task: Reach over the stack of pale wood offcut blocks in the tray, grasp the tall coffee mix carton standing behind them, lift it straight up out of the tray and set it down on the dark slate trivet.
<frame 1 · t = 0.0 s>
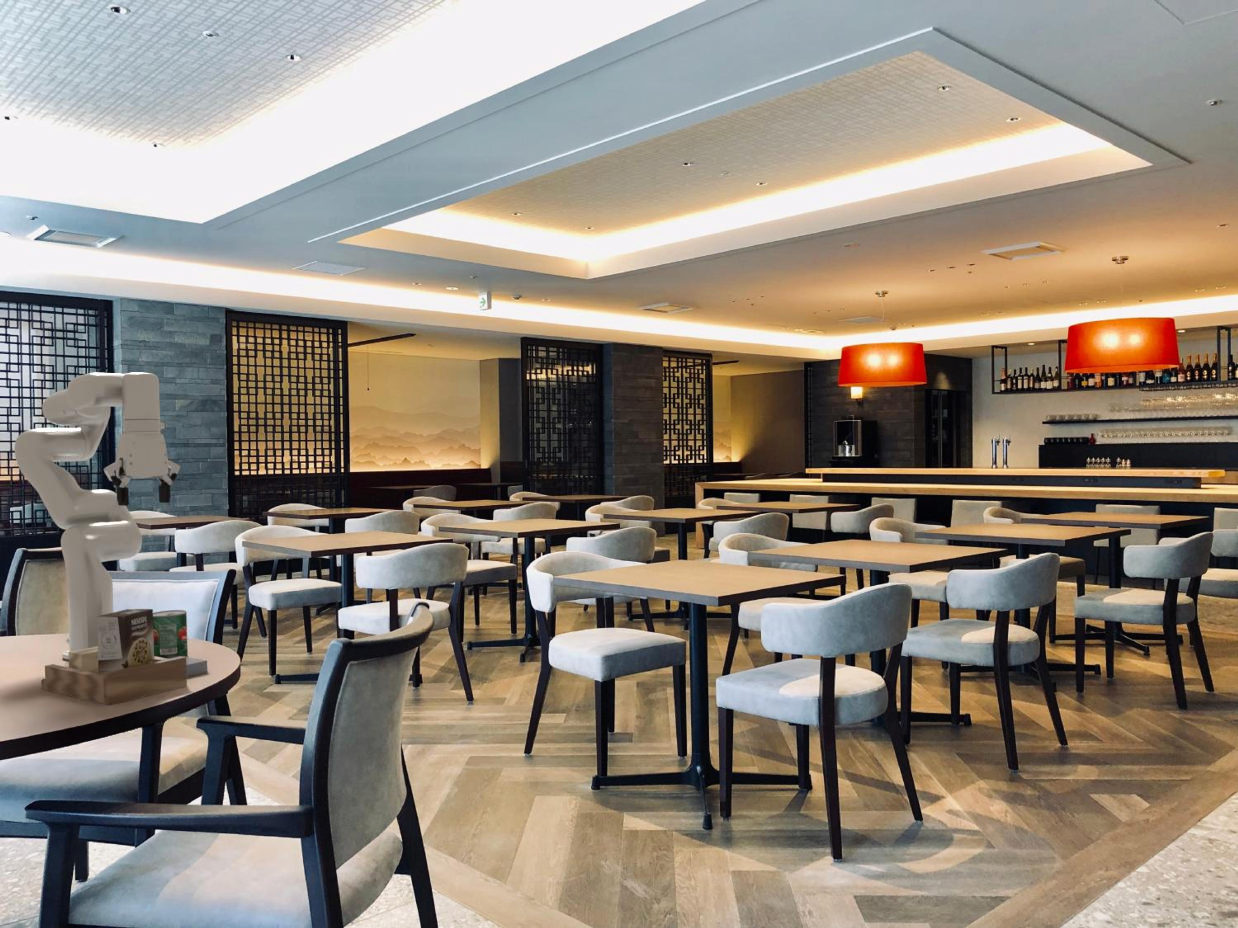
hand: (144, 503, 219), 37 cm above the table, tool pointing down, fingers open, 9 cm apart
offcut bottom: (95, 684, 204), resting in tray
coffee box: (127, 691, 198), resting in tray
canned tomato: (169, 660, 226), on the table
offcut top: (94, 665, 204), point 4 cm above the table
tray: (114, 687, 200), on the table
trivet: (177, 672, 212), on the table
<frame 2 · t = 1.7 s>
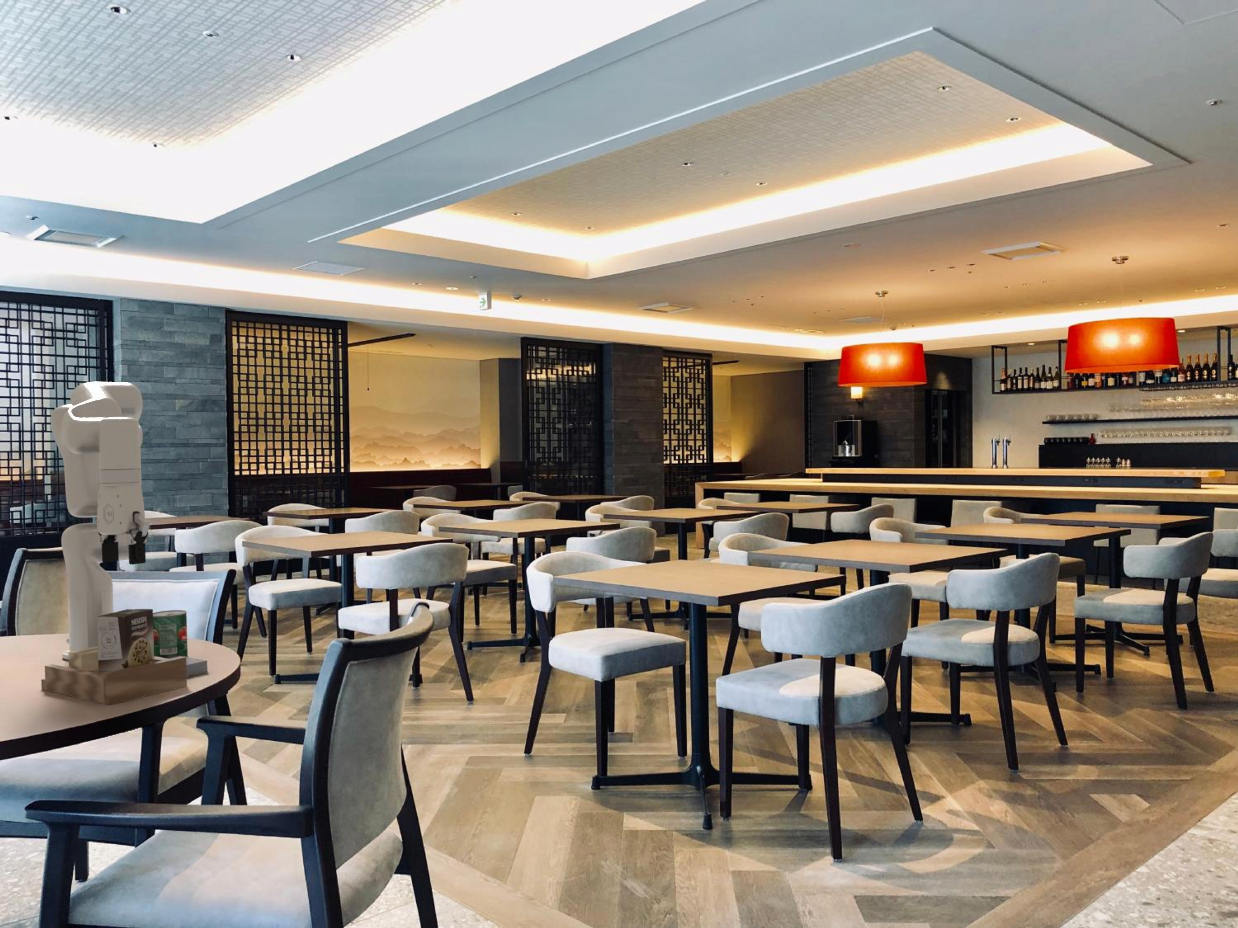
hand: (123, 562, 197), 26 cm above the table, tool pointing down, fingers open, 9 cm apart
offcut bottom: (96, 684, 204), resting in tray, touching offcut top
offcut top: (94, 666, 204), point 4 cm above the table, touching offcut bottom
everything else where it was.
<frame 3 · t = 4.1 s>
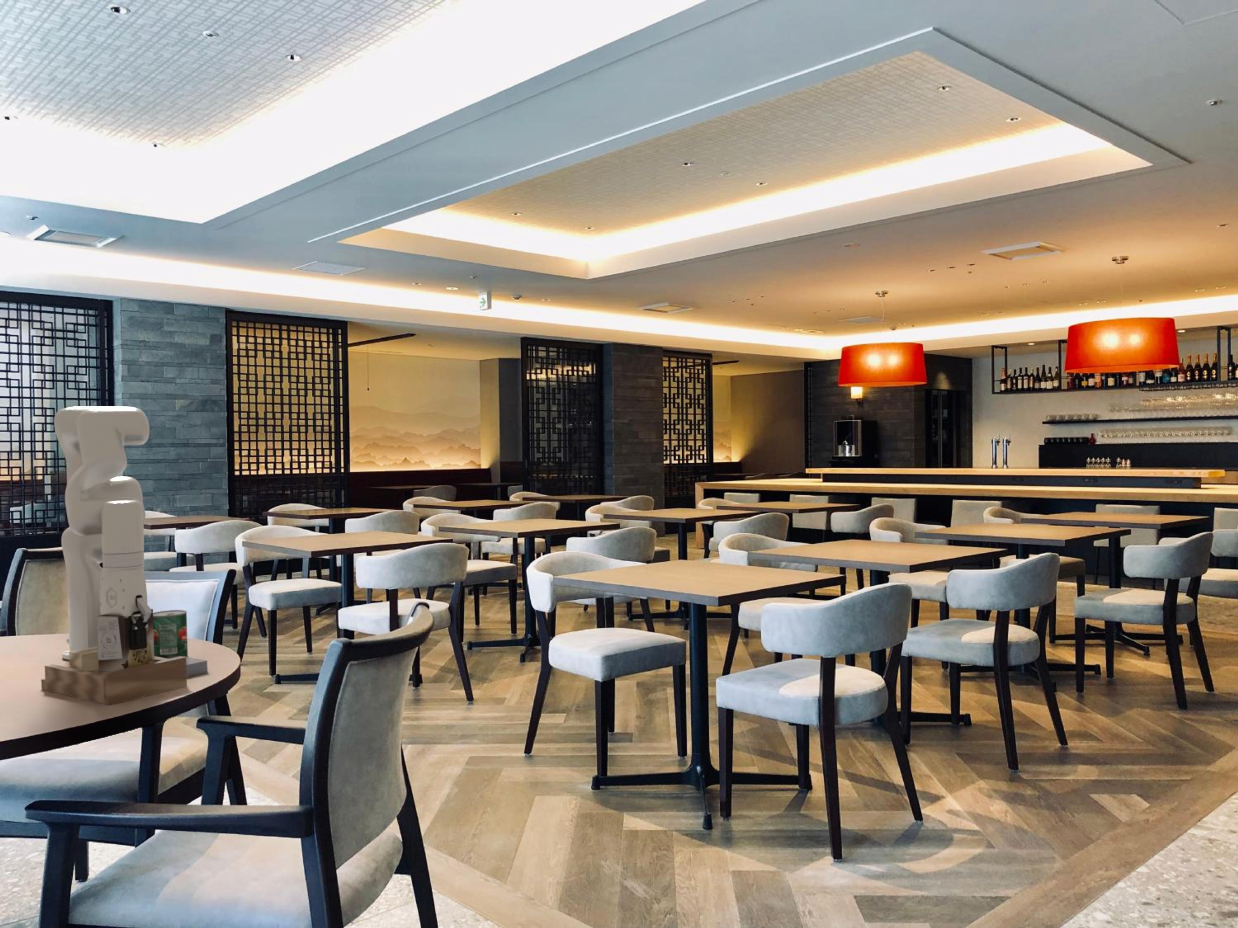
hand: (126, 646, 197), 9 cm above the table, tool pointing down, fingers closed on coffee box, 8 cm apart
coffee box: (127, 691, 198), resting in tray, touching gripper
everything else where it was.
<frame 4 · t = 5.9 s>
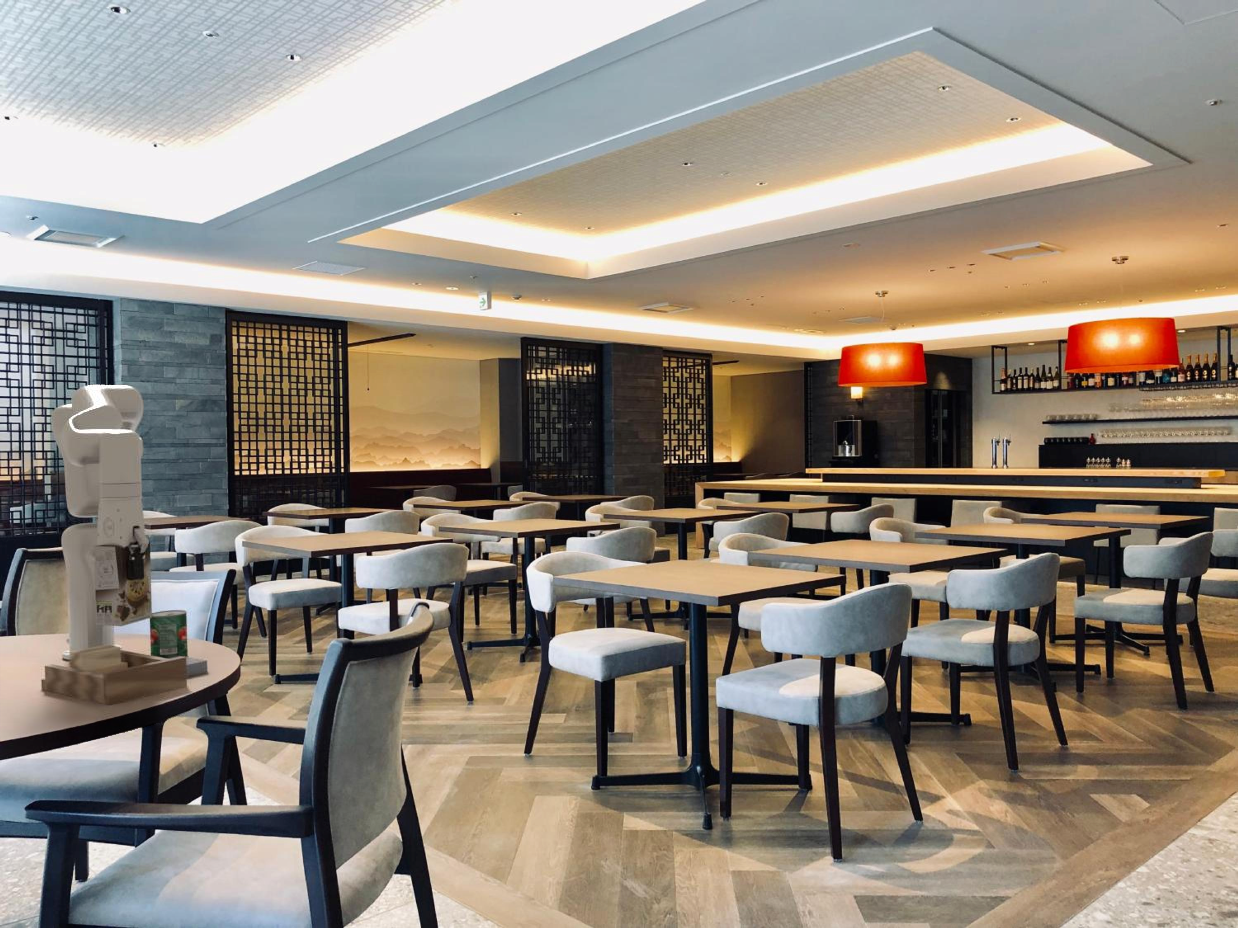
hand: (123, 577, 197), 23 cm above the table, tool pointing down, fingers closed on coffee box, 8 cm apart
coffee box: (124, 622, 198), point 14 cm above the table, touching gripper
everything else where it was.
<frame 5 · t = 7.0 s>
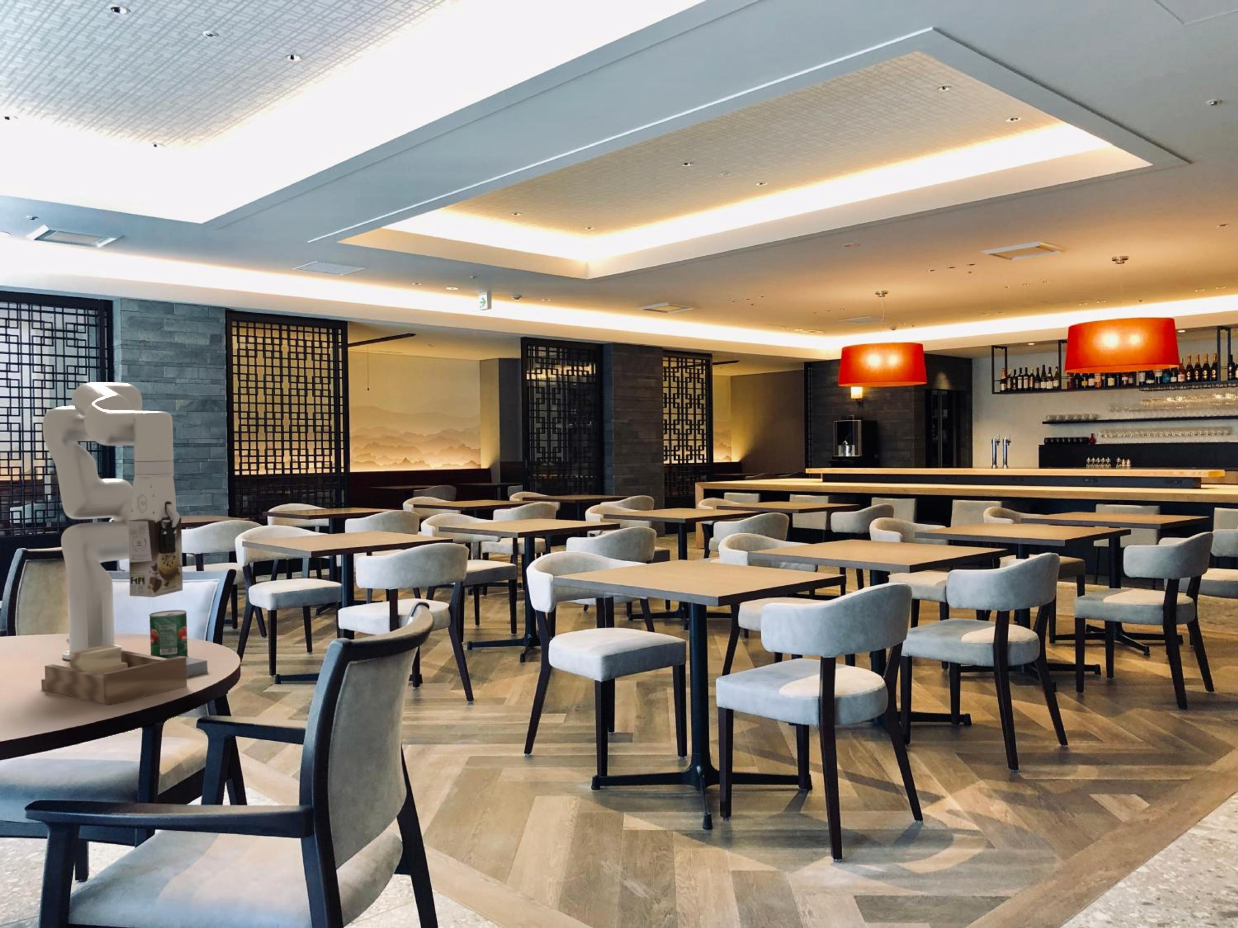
hand: (156, 551, 207), 27 cm above the table, tool pointing down, fingers closed on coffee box, 8 cm apart
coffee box: (157, 594, 207), point 18 cm above the table, touching gripper
everything else where it was.
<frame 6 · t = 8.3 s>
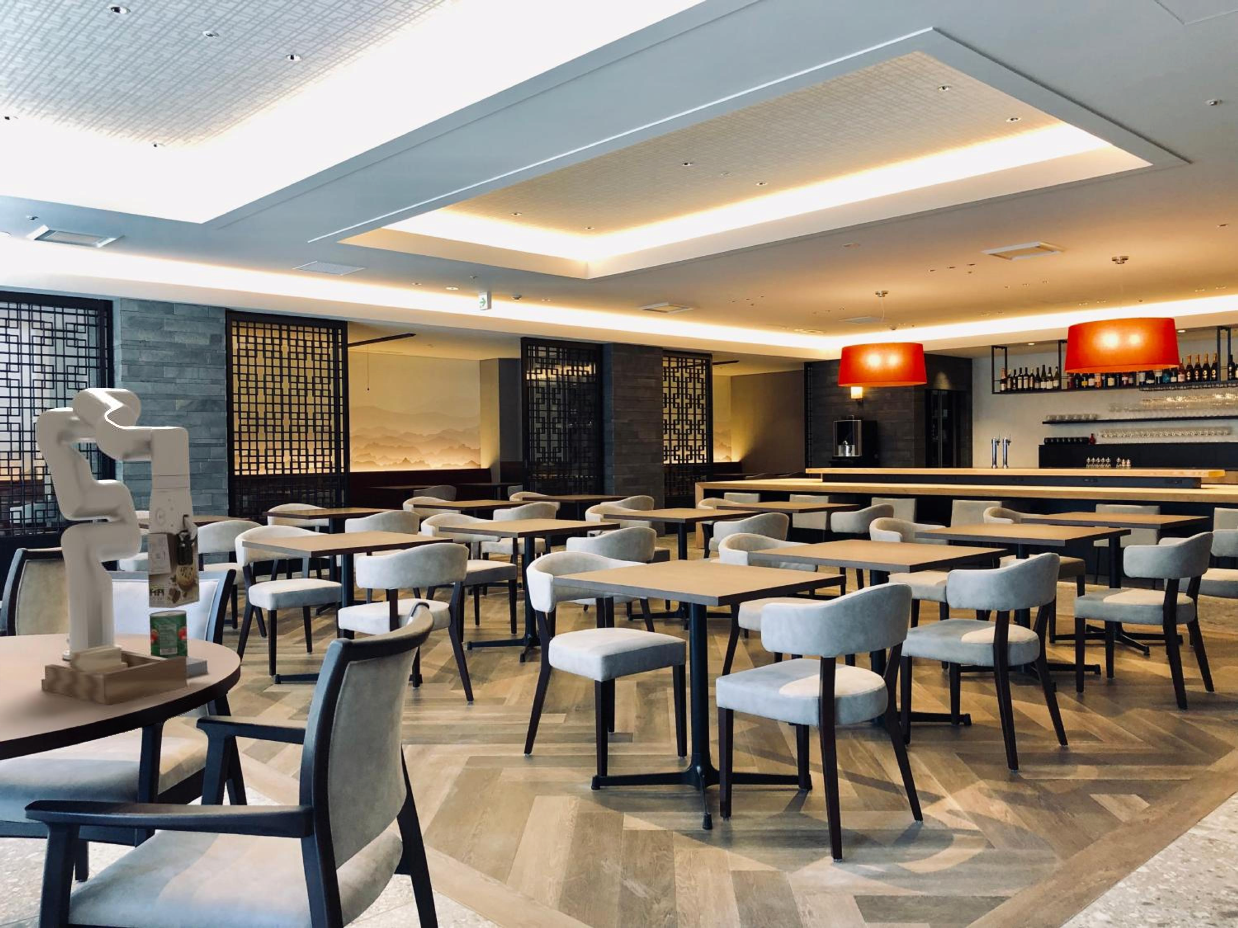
hand: (173, 563, 211), 24 cm above the table, tool pointing down, fingers closed on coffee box, 8 cm apart
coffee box: (175, 605, 212), point 15 cm above the table, touching gripper
everything else where it was.
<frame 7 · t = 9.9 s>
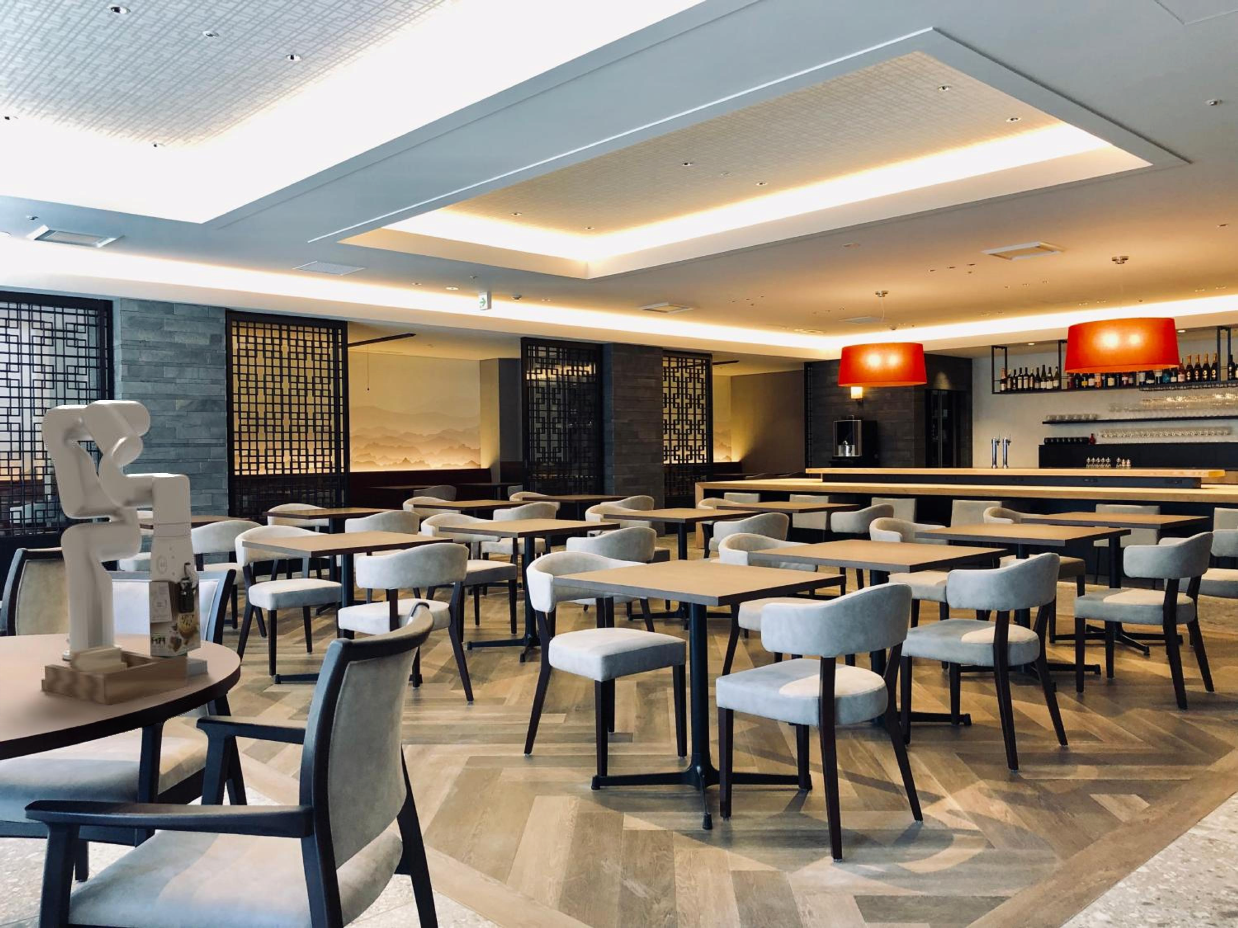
hand: (175, 610, 212), 14 cm above the table, tool pointing down, fingers closed on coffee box, 8 cm apart
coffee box: (176, 652, 212), point 4 cm above the table, touching gripper
everything else where it was.
when the fingers open (13 cm above the table, at t = 11.2 s): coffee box drops 1 cm, resting on trivet.
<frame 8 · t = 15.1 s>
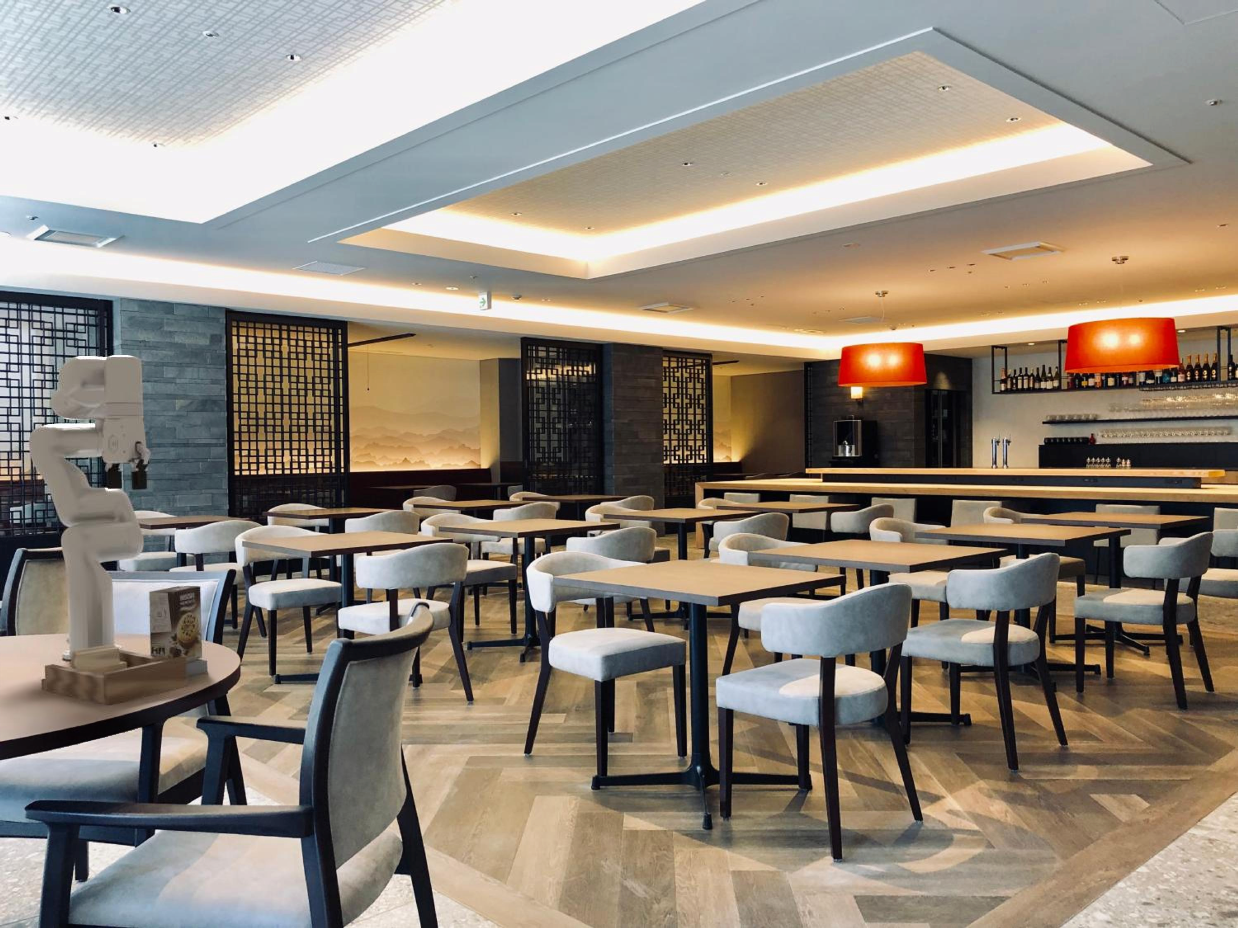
hand: (126, 489, 215), 40 cm above the table, tool pointing down, fingers open, 9 cm apart
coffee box: (177, 662, 212), point 2 cm above the table, touching trivet
at the end: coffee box inside the target area on the trivet (0.3 cm from its centre), point 2.3 cm above the trivet's base; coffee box tilted 0°; the gripper is holding nothing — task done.
